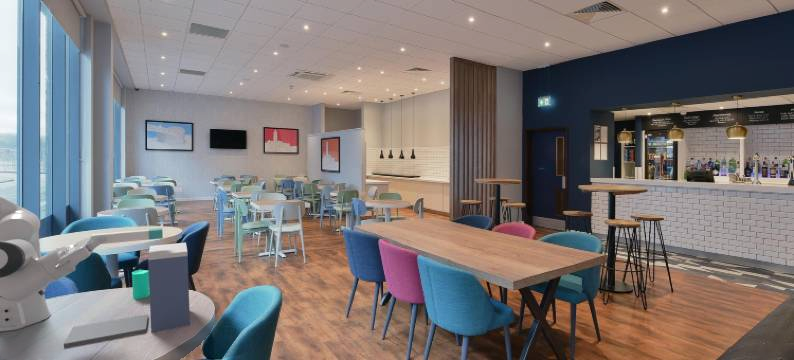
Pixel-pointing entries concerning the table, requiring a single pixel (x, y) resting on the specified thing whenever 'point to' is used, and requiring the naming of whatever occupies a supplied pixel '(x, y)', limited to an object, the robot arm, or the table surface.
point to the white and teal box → (129, 236)
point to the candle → (140, 284)
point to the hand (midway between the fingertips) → (105, 236)
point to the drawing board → (106, 330)
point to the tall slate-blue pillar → (168, 286)
